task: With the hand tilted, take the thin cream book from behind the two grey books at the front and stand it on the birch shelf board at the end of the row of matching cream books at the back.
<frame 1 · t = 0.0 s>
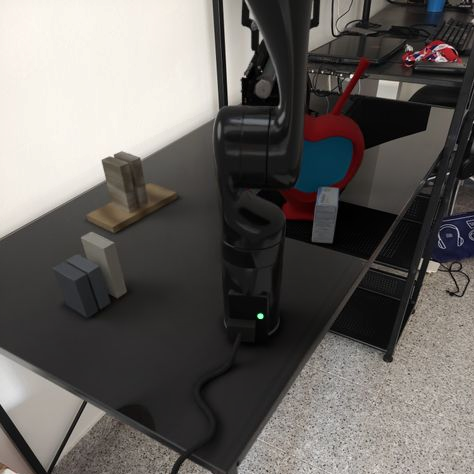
hand: (278, 54, 83), 29 cm above the table, tool pointing down, fingers open, 8 cm apart
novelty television: (305, 210, 100), on the table
medicine box: (322, 234, 93), on the table
grey books: (82, 286, 74), on the table
rack: (134, 209, 101), on the table
cream book: (111, 289, 80), on the table
typewriter: (290, 155, 122), on the table, touching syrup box
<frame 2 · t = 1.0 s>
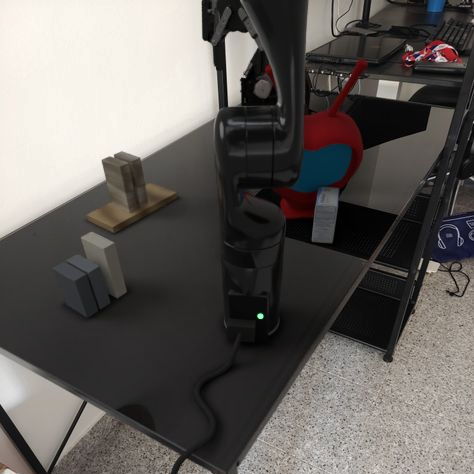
hand: (240, 72, 79), 28 cm above the table, tool pointing down, fingers open, 8 cm apart
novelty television: (303, 204, 99), point 1 cm above the table, touching gripper, medicine box
medicine box: (322, 234, 93), on the table, touching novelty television
everything else where it was.
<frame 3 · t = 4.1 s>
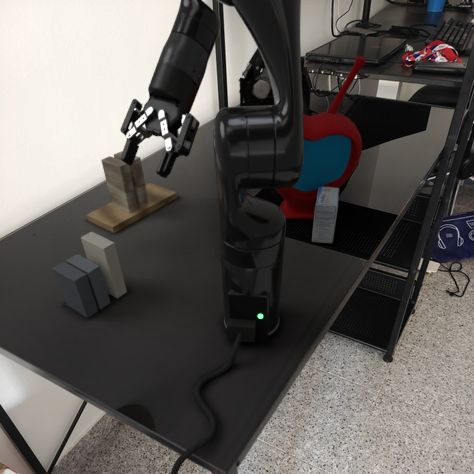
hand: (143, 169, 74), 18 cm above the table, tool tilted 45°, fingers open, 8 cm apart
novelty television: (302, 209, 100), on the table
medicine box: (322, 234, 93), on the table
everything else where it was.
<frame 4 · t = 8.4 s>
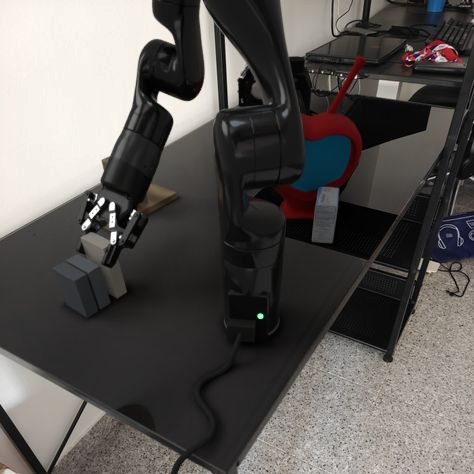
hand: (93, 259, 74), 8 cm above the table, tool tilted 45°, fingers closed on cream book, 6 cm apart
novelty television: (302, 209, 100), on the table, touching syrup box
cream book: (111, 289, 80), on the table, touching gripper
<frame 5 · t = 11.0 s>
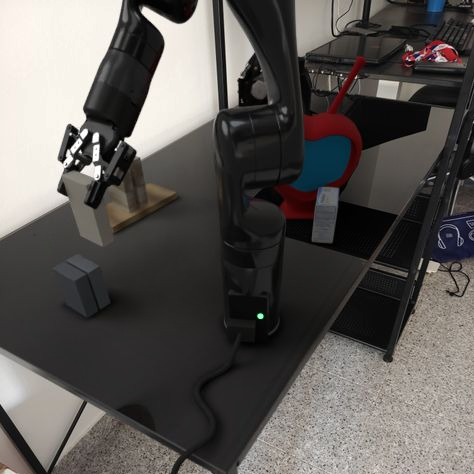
hand: (76, 200, 66), 18 cm above the table, tool tilted 45°, fingers closed on cream book, 6 cm apart
cream book: (97, 238, 72), point 11 cm above the table, touching gripper
typewriter: (289, 157, 121), on the table
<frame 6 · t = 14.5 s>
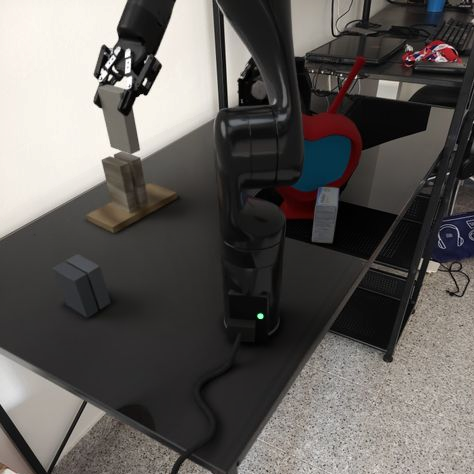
hand: (110, 109, 78), 24 cm above the table, tool tilted 45°, fingers closed on cream book, 6 cm apart
cream book: (125, 148, 85), point 16 cm above the table, touching gripper
everything else where it was.
when the fingers open (9 cm above the table, at t = 20.6 s): cream book stays where it is, resting on rack.
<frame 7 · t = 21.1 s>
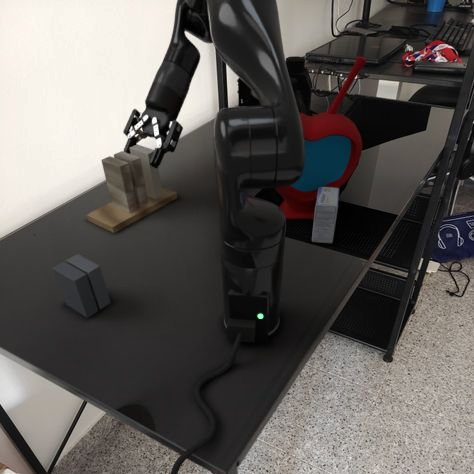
hand: (139, 161, 97), 10 cm above the table, tool tilted 45°, fingers open, 8 cm apart
cream book: (150, 193, 103), point 1 cm above the table, touching rack
everything else where it was.
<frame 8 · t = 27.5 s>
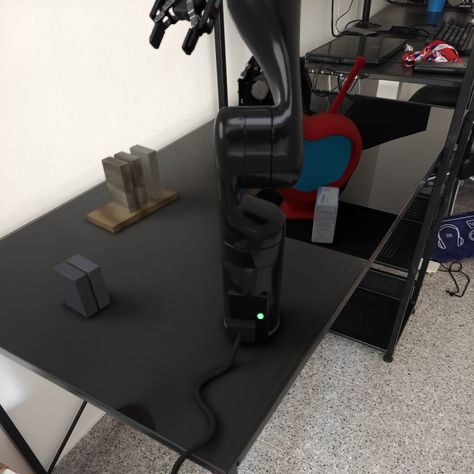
hand: (169, 49, 81), 31 cm above the table, tool tilted 45°, fingers open, 8 cm apart
nothing on the table moved.
at the end: cream book 0.1 cm from the target spot on the rack, point 1.5 cm above the rack's base; cream book tilted 0° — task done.
